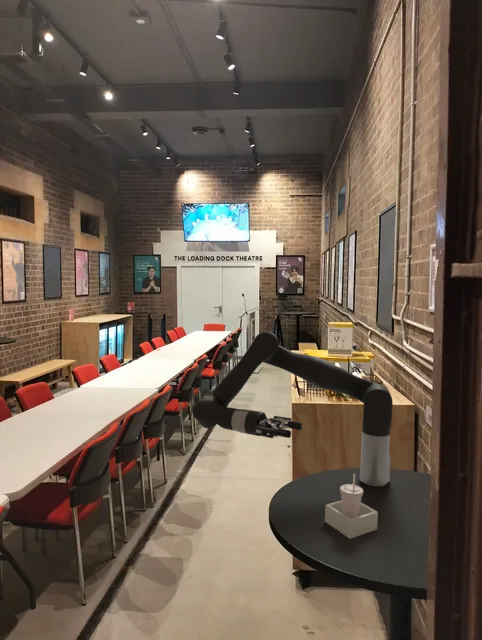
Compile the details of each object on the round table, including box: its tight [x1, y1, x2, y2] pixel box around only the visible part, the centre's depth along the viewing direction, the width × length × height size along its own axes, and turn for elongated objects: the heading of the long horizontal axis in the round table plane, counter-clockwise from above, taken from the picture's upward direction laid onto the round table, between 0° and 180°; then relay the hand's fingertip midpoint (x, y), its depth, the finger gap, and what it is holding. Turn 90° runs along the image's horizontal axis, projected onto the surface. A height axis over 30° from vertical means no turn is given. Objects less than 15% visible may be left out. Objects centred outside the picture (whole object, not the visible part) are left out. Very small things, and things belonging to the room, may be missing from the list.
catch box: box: [324, 499, 379, 539], centre depth 132 cm, size 10×10×5 cm
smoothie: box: [339, 473, 364, 519], centre depth 132 cm, size 6×6×14 cm
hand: (296, 430), depth 142 cm, fingers open, 8 cm apart
